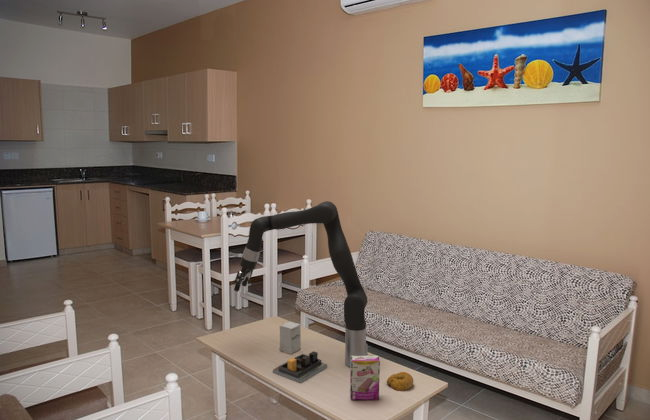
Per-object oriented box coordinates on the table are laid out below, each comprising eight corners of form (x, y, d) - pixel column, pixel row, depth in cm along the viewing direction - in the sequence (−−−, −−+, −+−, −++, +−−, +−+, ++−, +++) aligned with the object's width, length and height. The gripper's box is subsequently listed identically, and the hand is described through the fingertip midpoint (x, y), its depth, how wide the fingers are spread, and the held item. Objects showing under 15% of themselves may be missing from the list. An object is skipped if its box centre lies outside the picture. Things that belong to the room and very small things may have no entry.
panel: (272, 372, 215) (272, 358, 214) (299, 358, 229) (299, 344, 228) (301, 383, 205) (301, 367, 204) (327, 367, 219) (327, 353, 218)
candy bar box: (350, 401, 191) (351, 360, 189) (349, 394, 196) (349, 355, 194) (379, 400, 191) (380, 360, 189) (377, 393, 196) (378, 354, 194)
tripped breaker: (287, 371, 212) (287, 360, 211) (292, 369, 214) (292, 358, 214) (291, 373, 210) (291, 361, 210) (296, 370, 213) (296, 359, 212)
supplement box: (291, 354, 233) (290, 328, 231) (279, 350, 237) (279, 325, 236) (301, 349, 239) (300, 324, 237) (289, 345, 243) (289, 320, 242)
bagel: (391, 377, 210) (391, 366, 209) (416, 383, 205) (416, 372, 204) (382, 387, 202) (383, 376, 201) (408, 394, 196) (409, 383, 196)
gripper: (251, 264, 223) (240, 296, 226) (263, 257, 236) (253, 287, 240) (236, 257, 224) (226, 289, 228) (249, 251, 238) (239, 281, 241)
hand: (240, 288), depth 234 cm, fingers open, 8 cm apart
